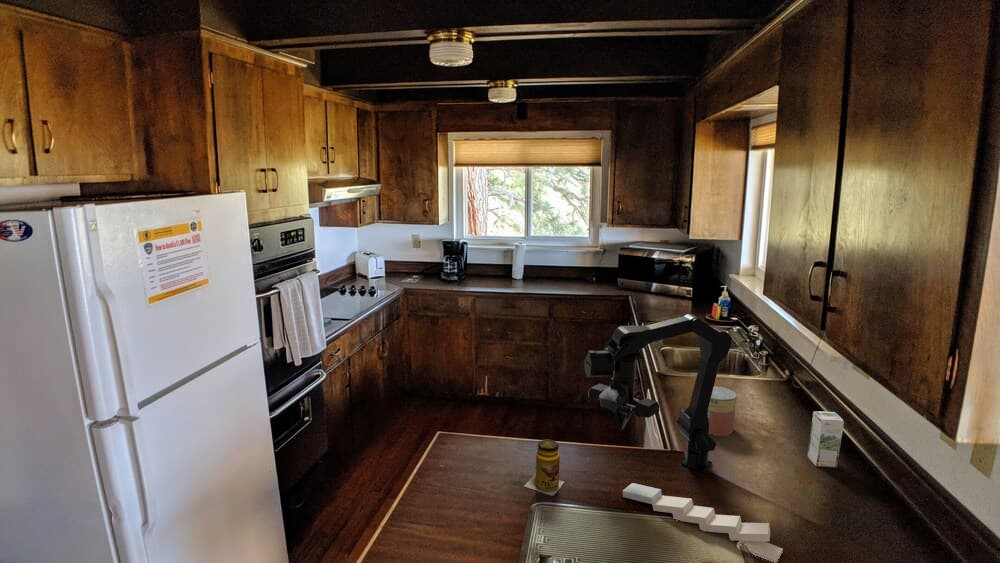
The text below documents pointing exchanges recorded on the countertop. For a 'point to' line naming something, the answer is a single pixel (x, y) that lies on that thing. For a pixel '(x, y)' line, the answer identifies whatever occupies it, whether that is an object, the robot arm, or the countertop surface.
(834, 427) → the syrup box
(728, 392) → the canned food
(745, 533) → the domino
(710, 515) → the domino
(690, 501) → the domino
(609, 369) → the robot arm
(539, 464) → the condiment
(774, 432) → the countertop surface
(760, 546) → the domino
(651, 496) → the domino
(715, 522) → the domino
